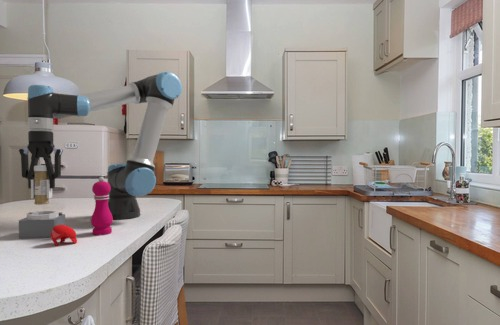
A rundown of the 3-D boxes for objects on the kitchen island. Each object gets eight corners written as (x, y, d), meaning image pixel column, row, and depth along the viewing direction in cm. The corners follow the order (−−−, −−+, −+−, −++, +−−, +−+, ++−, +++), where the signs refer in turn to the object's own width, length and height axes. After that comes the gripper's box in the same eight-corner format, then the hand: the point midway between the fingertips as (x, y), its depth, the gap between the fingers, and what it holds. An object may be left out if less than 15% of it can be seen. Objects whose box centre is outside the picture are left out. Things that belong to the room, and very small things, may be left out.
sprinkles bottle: (32, 204, 124) (31, 165, 124) (46, 202, 128) (45, 165, 128) (37, 205, 122) (36, 165, 121) (51, 203, 125) (51, 165, 125)
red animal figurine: (44, 237, 108) (61, 226, 108) (49, 226, 114) (65, 216, 114) (62, 254, 112) (79, 244, 112) (66, 243, 117) (82, 234, 117)
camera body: (65, 230, 131) (65, 209, 131) (54, 237, 121) (53, 214, 121) (33, 231, 130) (32, 210, 129) (19, 238, 120) (18, 215, 119)
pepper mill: (117, 231, 129) (116, 176, 128) (103, 236, 122) (102, 177, 122) (101, 230, 131) (100, 175, 131) (86, 234, 125) (85, 177, 124)
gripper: (8, 129, 119) (9, 199, 120) (63, 130, 121) (64, 199, 122) (19, 131, 127) (20, 196, 127) (71, 131, 129) (72, 196, 129)
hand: (41, 197), depth 125 cm, fingers closed on sprinkles bottle, 4 cm apart
